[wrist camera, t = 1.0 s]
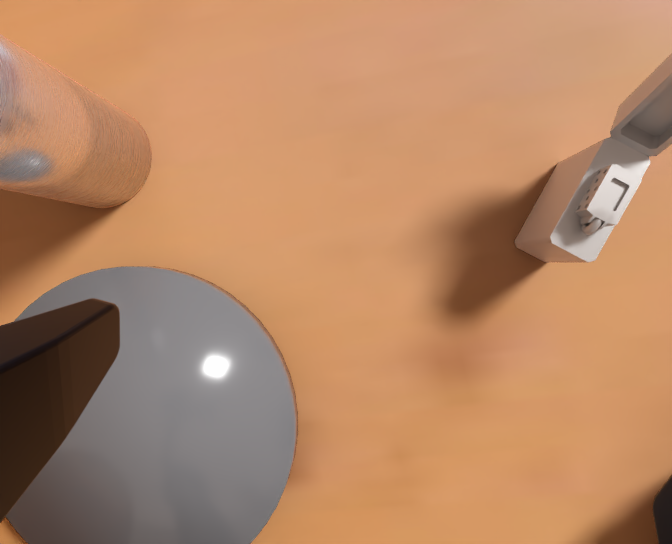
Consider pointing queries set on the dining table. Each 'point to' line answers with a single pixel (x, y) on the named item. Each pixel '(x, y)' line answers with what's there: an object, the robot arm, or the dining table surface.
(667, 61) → the lighter
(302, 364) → the dining table surface
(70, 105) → the pepper mill
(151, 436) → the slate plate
